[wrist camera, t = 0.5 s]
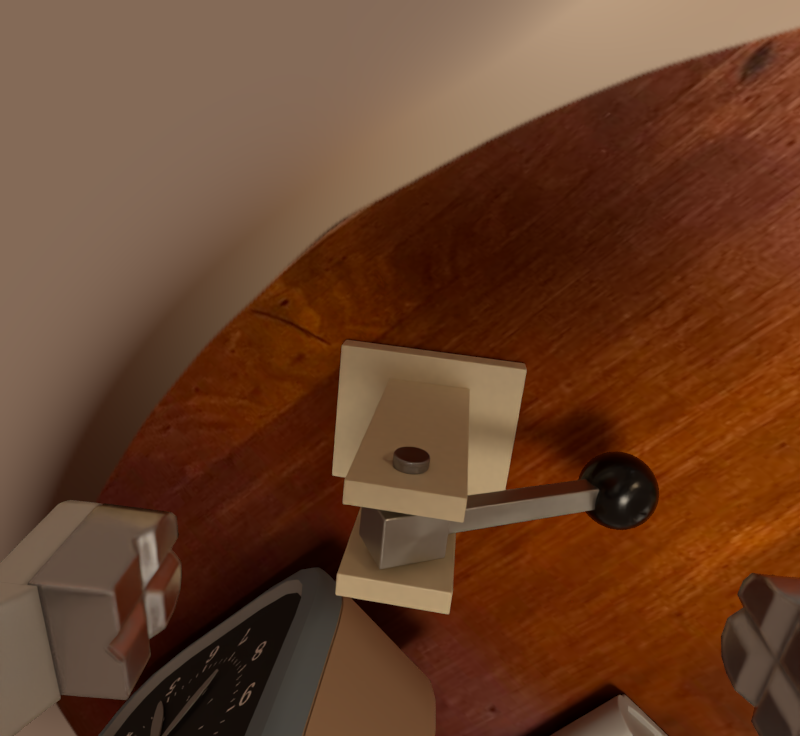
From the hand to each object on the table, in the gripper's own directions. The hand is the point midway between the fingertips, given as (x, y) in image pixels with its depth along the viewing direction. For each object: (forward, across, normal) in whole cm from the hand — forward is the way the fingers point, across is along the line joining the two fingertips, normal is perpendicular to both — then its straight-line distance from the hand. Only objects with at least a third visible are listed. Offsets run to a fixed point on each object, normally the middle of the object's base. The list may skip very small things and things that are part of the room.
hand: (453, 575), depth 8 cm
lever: (+16, -4, +9) cm, 19 cm away
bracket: (+23, 0, +10) cm, 25 cm away
